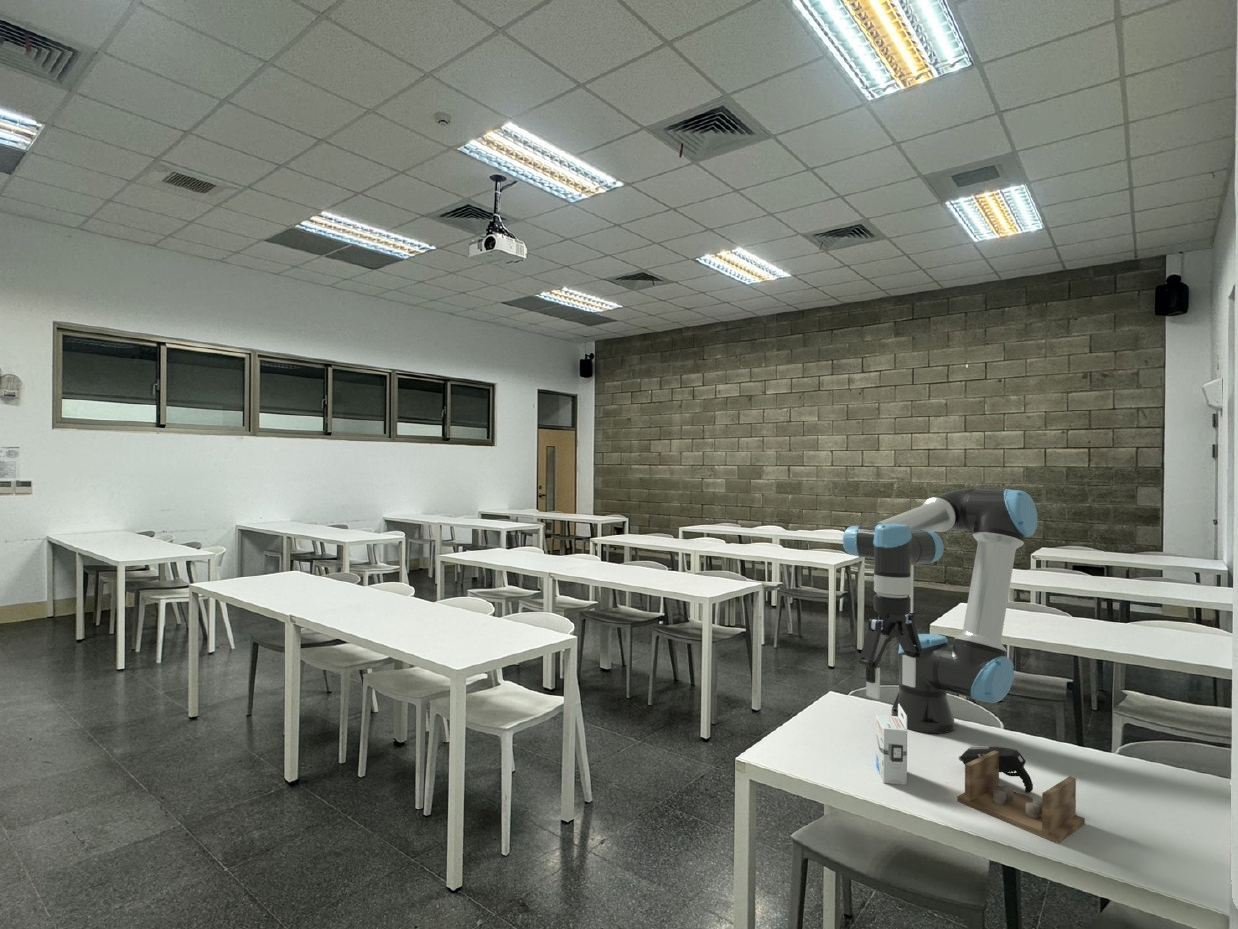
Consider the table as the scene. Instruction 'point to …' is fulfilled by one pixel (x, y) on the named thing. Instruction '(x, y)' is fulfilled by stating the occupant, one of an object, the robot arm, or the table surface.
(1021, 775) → the gun
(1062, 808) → the peg cradle
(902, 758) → the ink box
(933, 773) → the table surface
